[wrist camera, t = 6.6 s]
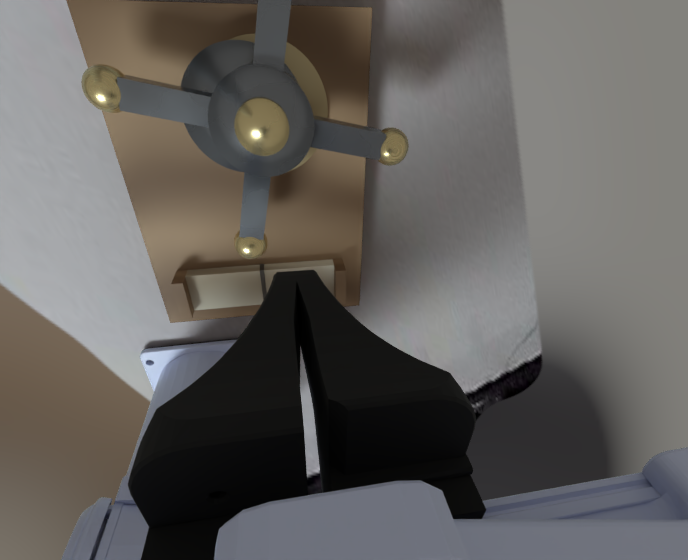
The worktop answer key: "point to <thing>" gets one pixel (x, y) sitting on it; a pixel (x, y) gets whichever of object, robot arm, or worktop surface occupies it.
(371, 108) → the worktop surface
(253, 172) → the capstan
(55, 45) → the worktop surface
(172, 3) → the valve wheel board
